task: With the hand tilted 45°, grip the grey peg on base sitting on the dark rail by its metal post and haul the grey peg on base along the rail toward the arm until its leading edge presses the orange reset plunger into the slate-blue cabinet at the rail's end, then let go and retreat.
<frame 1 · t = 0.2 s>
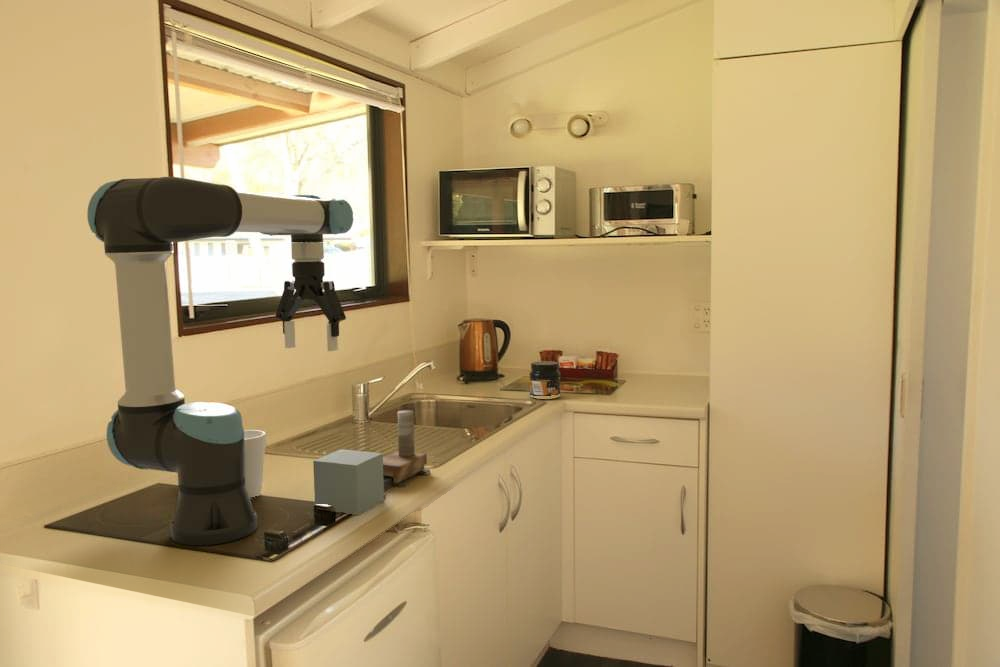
hand: (311, 349, 196), 28 cm above the worktop, tool pointing down, fingers open, 13 cm apart
grey peg on base: (399, 444, 182), point 8 cm above the worktop, slide at 0.0 cm
foam cup: (245, 495, 172), on the worktop
plunger: (365, 479, 169), point 4 cm above the worktop, slide at 0.0 cm
supplement container: (545, 398, 278), on the worktop
rail: (390, 483, 179), on the worktop
cabinet: (350, 505, 164), on the worktop
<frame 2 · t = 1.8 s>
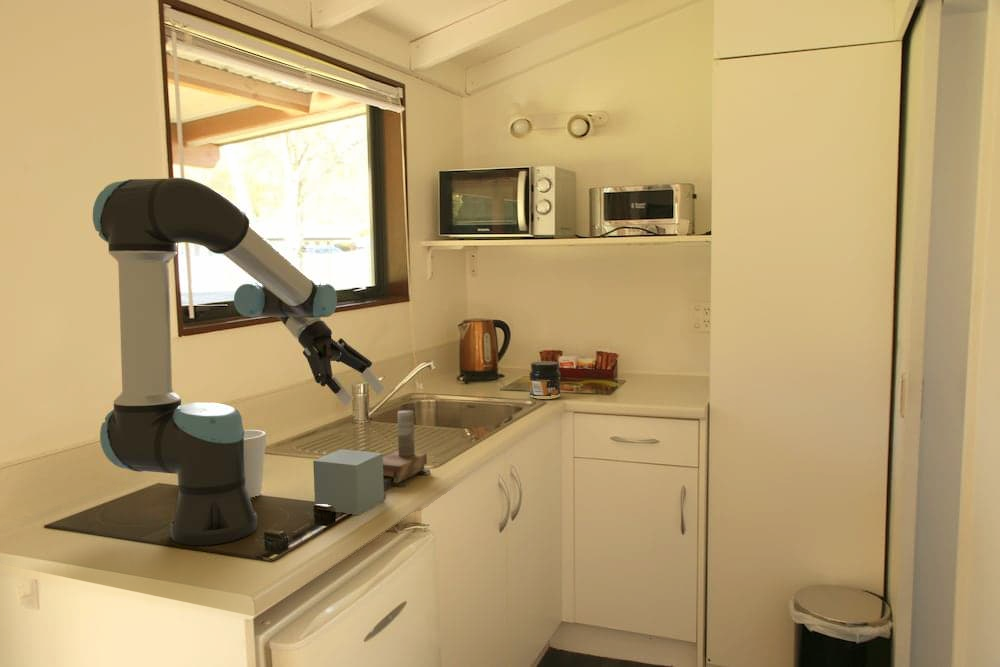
hand: (366, 396, 187), 18 cm above the worktop, tool tilted 45°, fingers open, 13 cm apart
nothing on the worktop moved.
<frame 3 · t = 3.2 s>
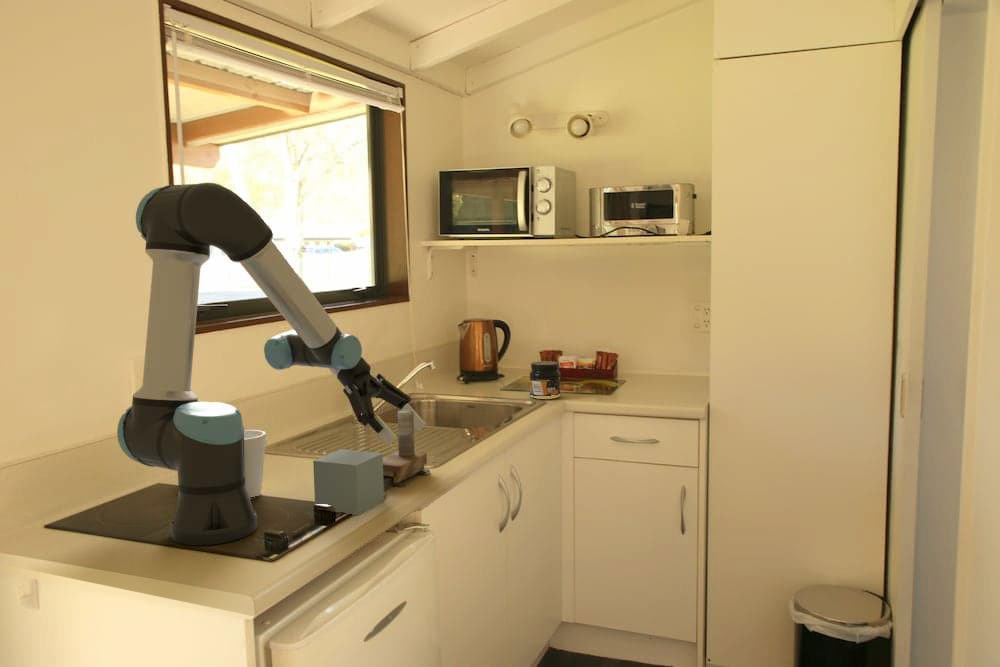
hand: (407, 434, 184), 9 cm above the worktop, tool tilted 45°, fingers open, 13 cm apart
nothing on the worktop moved.
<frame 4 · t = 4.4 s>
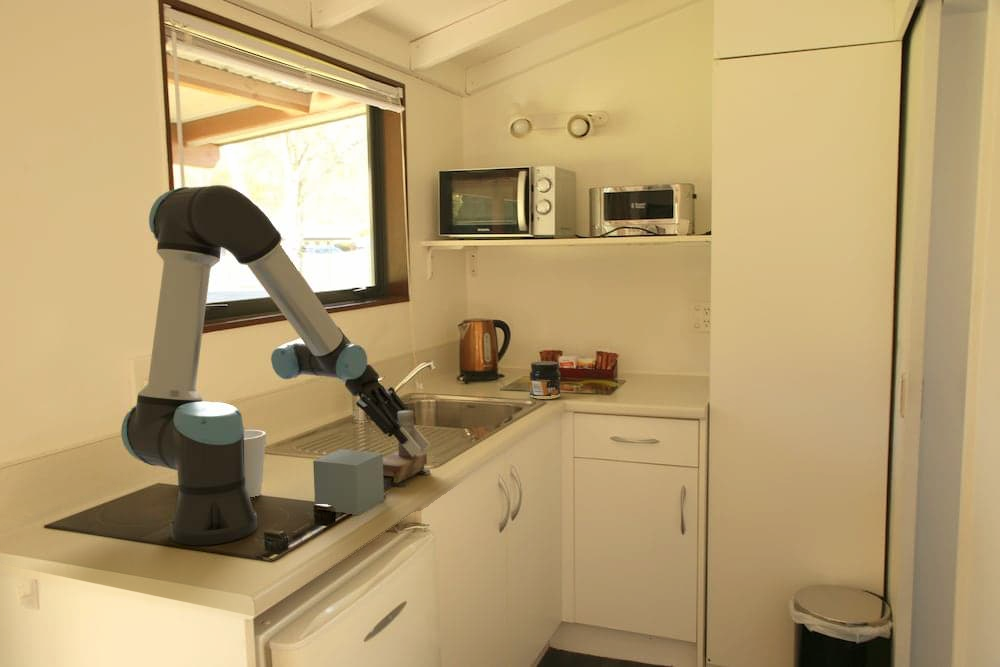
hand: (421, 450, 183), 6 cm above the worktop, tool tilted 45°, fingers closed on grey peg on base, 4 cm apart
grey peg on base: (399, 444, 182), point 8 cm above the worktop, slide at 0.0 cm, touching gripper
everything else where it was.
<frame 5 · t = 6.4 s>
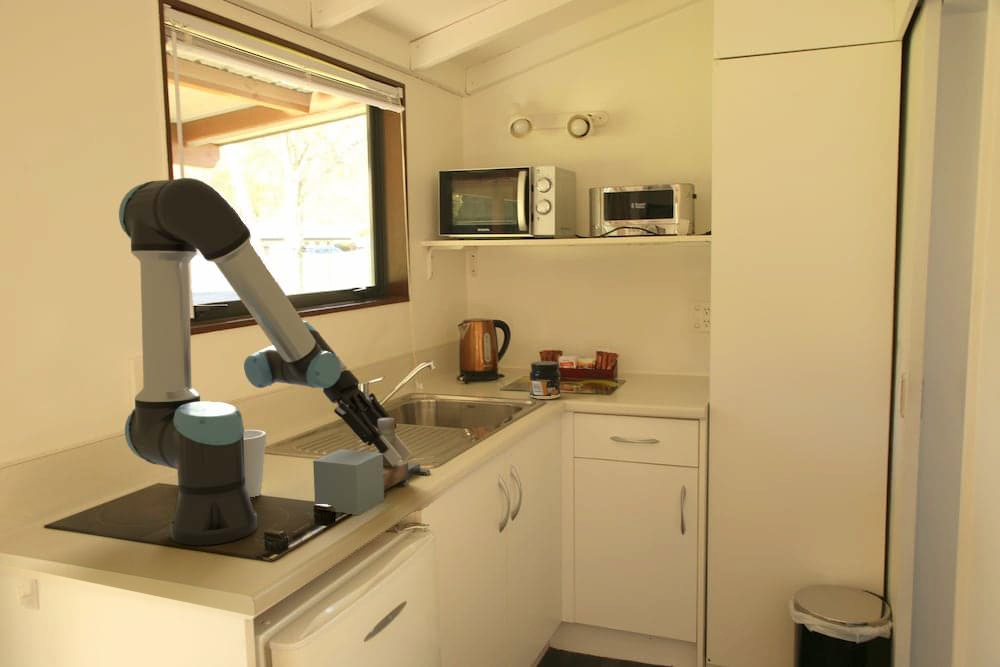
hand: (402, 459, 175), 6 cm above the worktop, tool tilted 45°, fingers closed on grey peg on base, 4 cm apart
grey peg on base: (379, 453, 174), point 8 cm above the worktop, slide at 8.4 cm, touching gripper, plunger
plunger: (358, 483, 167), point 4 cm above the worktop, slide at 2.4 cm, touching grey peg on base
everything else where it was.
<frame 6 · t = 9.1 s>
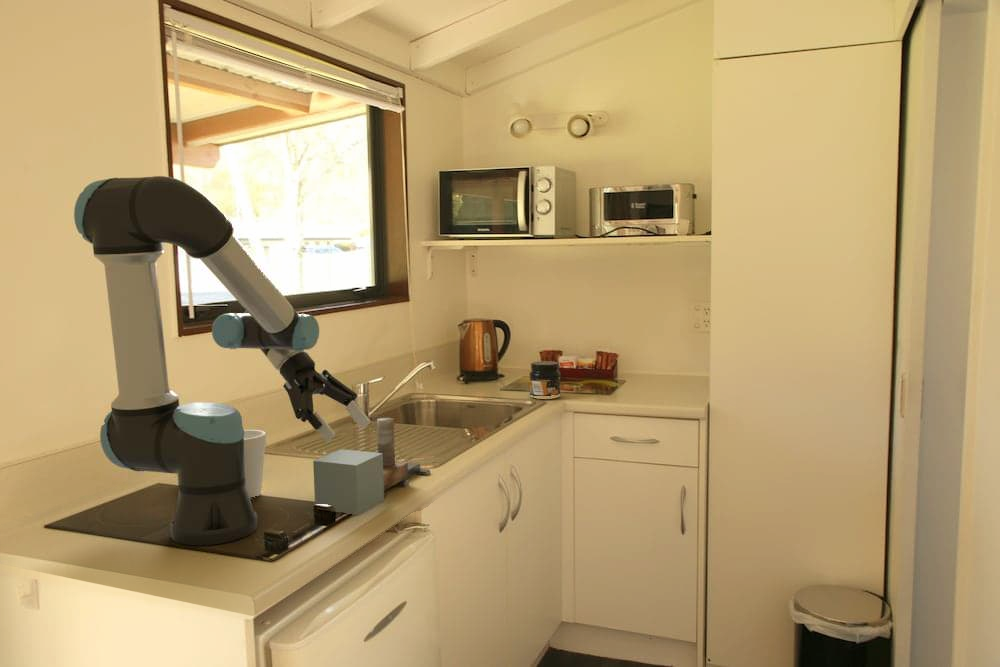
hand: (349, 431, 180), 11 cm above the worktop, tool tilted 45°, fingers open, 13 cm apart
grey peg on base: (379, 453, 174), point 8 cm above the worktop, slide at 8.7 cm
plunger: (357, 483, 166), point 4 cm above the worktop, slide at 2.7 cm
everything else where it was.
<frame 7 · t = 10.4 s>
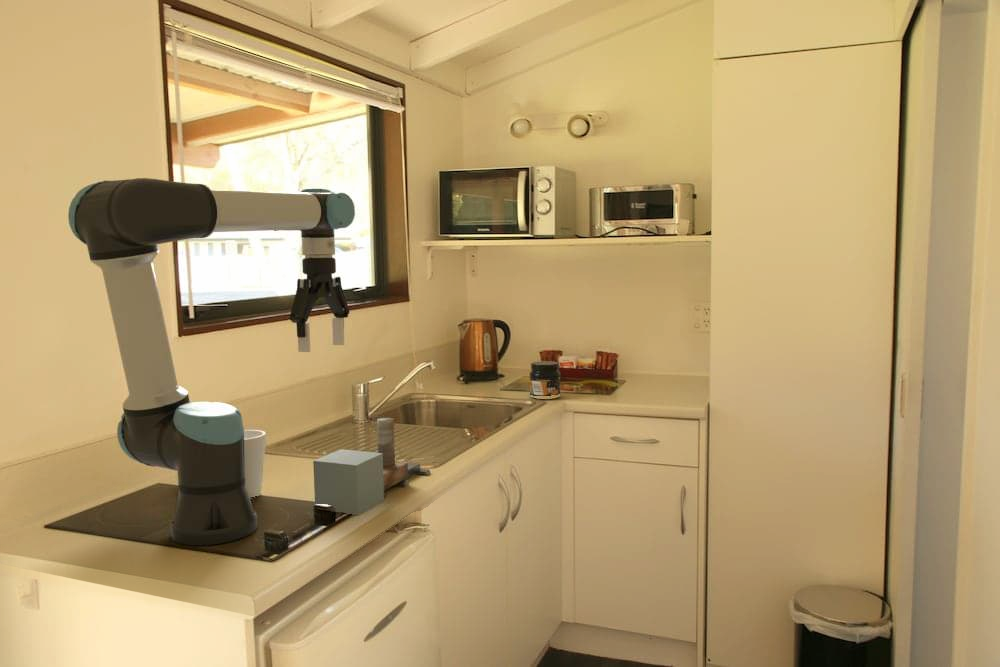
hand: (322, 348, 190), 29 cm above the worktop, tool pointing down, fingers open, 13 cm apart
nothing on the worktop moved.
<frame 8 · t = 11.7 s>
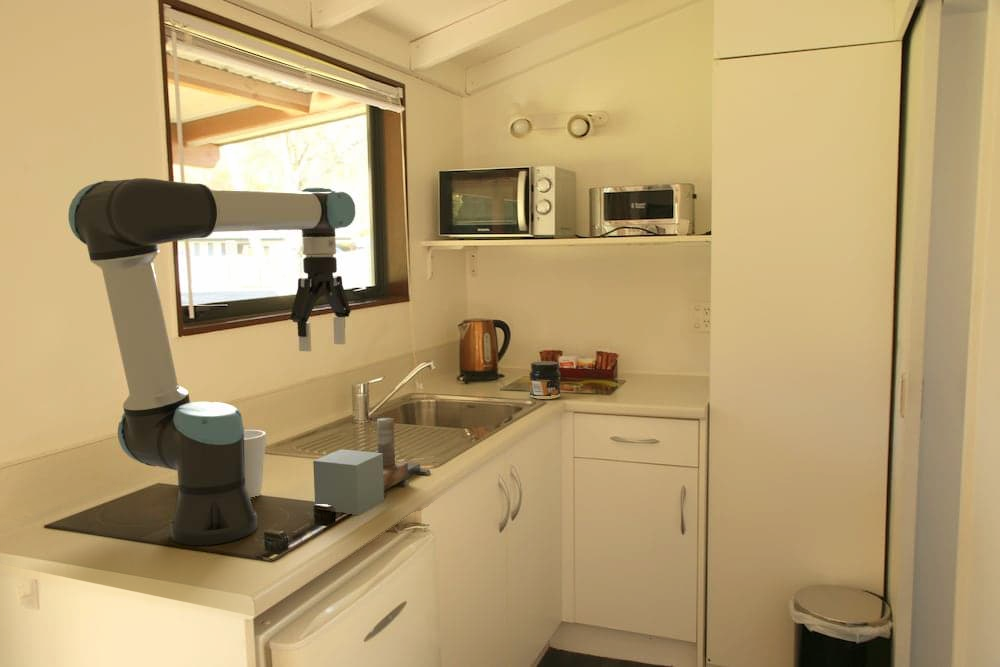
hand: (323, 347, 190), 29 cm above the worktop, tool pointing down, fingers open, 13 cm apart
nothing on the worktop moved.
at the end: grey peg on base slide at 8.7 cm; plunger slide at 2.7 cm; the gripper is holding nothing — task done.
